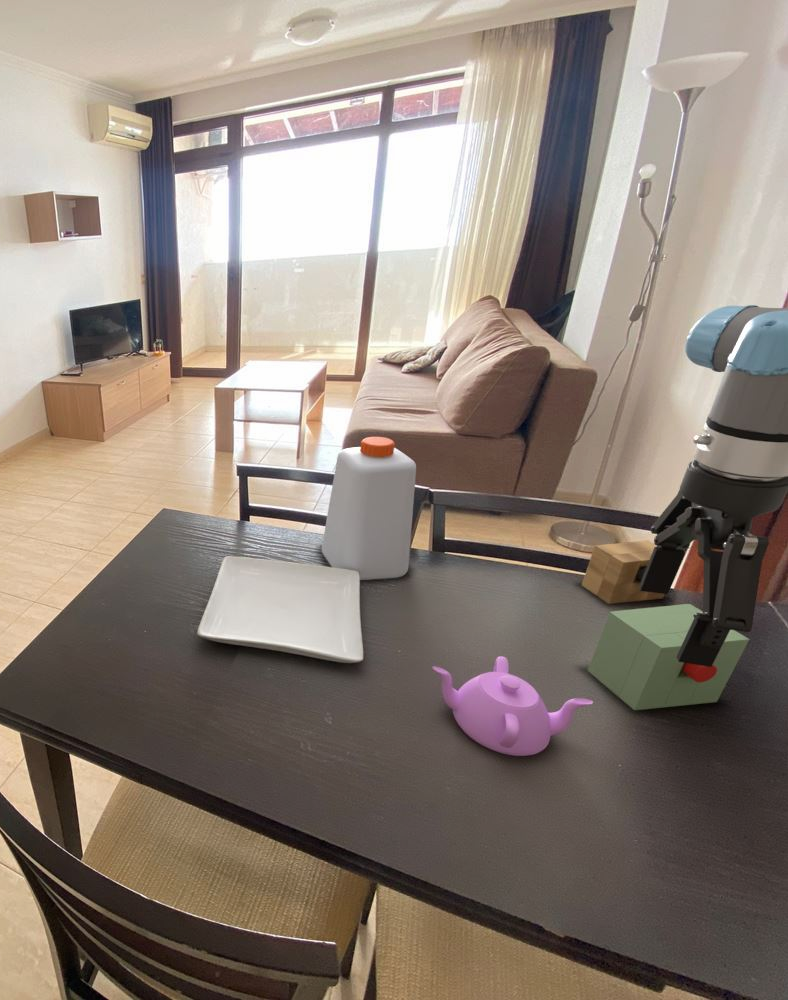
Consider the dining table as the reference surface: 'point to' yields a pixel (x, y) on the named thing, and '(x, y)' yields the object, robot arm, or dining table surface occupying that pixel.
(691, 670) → the red button
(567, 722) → the teapot
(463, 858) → the dining table surface
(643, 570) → the black button
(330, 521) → the plastic bottle
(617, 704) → the dining table surface
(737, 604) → the robot arm
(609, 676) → the green box
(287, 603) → the square plate
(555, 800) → the dining table surface
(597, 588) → the wooden button box
